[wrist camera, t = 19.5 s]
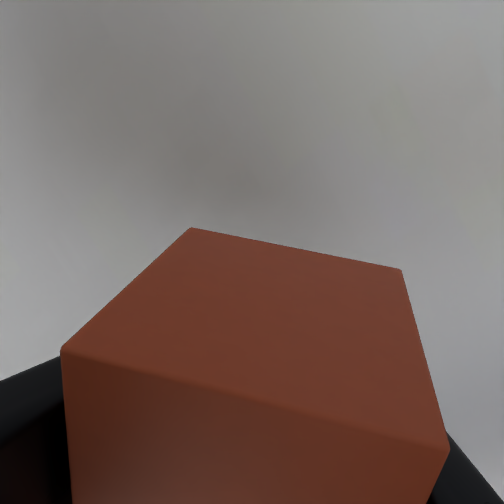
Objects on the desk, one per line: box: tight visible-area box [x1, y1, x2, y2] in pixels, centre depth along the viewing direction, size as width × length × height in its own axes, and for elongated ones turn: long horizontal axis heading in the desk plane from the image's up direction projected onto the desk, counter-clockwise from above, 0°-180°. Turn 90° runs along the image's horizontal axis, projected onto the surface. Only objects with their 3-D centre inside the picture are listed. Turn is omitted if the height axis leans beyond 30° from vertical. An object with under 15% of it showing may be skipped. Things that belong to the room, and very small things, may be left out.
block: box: [60, 227, 450, 504], centre depth 7 cm, size 4×4×4 cm
